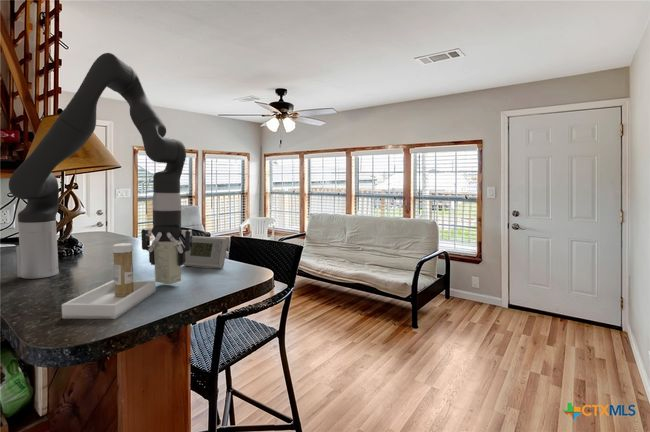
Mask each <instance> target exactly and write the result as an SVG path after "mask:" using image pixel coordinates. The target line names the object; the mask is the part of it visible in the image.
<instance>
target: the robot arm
mask: <svg viewBox="0 0 650 432" xmlns="http://www.w3.org/2000/svg"><path fill="white" fill-rule="evenodd" d="M106 88H108V89H110V90H111V91H114V92H116V93H117V94H119V95H120V96H122V97H121V98H123V99H124V100H125V102H126V103H127V104H128V106H129V115H130V116H129V117H130V119H131V121H132V122H133V125H134V126H135V127H136V129H137V131H138V133H139V134H140V136H141V139H142V143H143V147H144V152H145V155H146V156H147V157H148V159H150V160H151V161H152V162H153V163H154V162H155V163H160V164H162V163H163V164H165V168H164V169H163V170H162V171H157V172H155V173H154V174H153V176H152V177H153V178H152V183H153V185H152V186H153V187H152V189H153V191H152V192H153V194H152V195H153V196H152V229H151V228H148V227H147V228H143V229H141V232H140V233H141V249H142V250H143V251H147V252H148V263H149V264H151V265H150V266H155V263H154V249H155V247H156V245H157V243H158V242H159V241H160V242H174V246H175V247H176V248H177V250H178V251H179V253H178V265H179V266H181V267H182V266H184V265H183V264H184V263H185V253H186V251H189V250H191V249H192V236H193V229H188V230H187V229H183V228H182V206H183V205H182V198H181V177H182V174H183V170H184V166H185V163H186V158H187V150H186V147H185V145H184V143H183V141H181V140H179V139H175V138H170V137H166V134H167V128H166V125H165V123H164V122H163V120H162V119H161V118H160V116H159V114H158V113H157V112H156V110H155V108H154V107H153V105H152V104H151V102H150V100H149V98H148V96H147V94H146V91H145V90H144V87H143V85H142V83H141V81H140V78H139V75H138V73H137V72H136V70H135V69H134V67H133V66H131V65H129V64H128V63H126V62H125V61H124V60H122V59H121V58H119V57H118V56H117V55H115V54H114V53H111V52H105V53H102V54H100V55H99V56H98V57H97V58H96V59H95V60H94V62H93V63H92V64H91V66H90V68H89V70H88V71H87V73H86V75H85V76H84V79H83V80H82V82H81V84H80V86H79V88H78V89H77V91H76V92H75V93H74V95H73V97H72V98H71V99H70V101H69V102H68V104H67V105H66V106H65V108H64V109H63V110H62V112H60V114H59V115H58V117H57V118H56V120H55V121H54V122H53V123H52V125H51V126H50V128H49V129H48V131H47V133H45V135H44V136H43V138H42V139H40V140H41V141H40V142H39V143H38V144H37V146H36V147H35V149H34V150H33V151H32V152H31V153H30V154H29V156H28V157H27V158H25V160H24V161H23V162H22V163H21V164H20V165H19V166H18V167H17V168H16V169H15V170H14V172H13V173H12V174H11V176H10V177H9V181H8V189H9V192H10V193H11V195H12V196H13V197H15V198H17V199H19V200H26V201H27V202H26V205H25V207H24V208H23V209H22V210H20V211H19V212H18V214H17V224H18V225H17V227H18V228H17V229H18V242H19V245H17V246H16V248H15V250H16V267H17V277H18V278H22V279H29V280H31V279H34V280H35V279H42V278H43V279H44V278H49V277H54V276H56V275H58V274H59V273H60V272H59V270H60V269H59V255H58V236H57V235H58V232H57V231H58V230H57V214H58V211H59V206H60V205H59V201H60V200H59V198H60V197H59V195H60V194H59V193H60V189H59V182H58V179H57V177H56V175H55V174H54V173H53V171H54V170H55V169H56V167H57V166H58V165H59V164H61V163H62V162H63V161H64V160H65V161H66V160H67V159H68V158H70V157H72V155H74V154H75V153H77V152H79V150H80V149H81V148H83V147H84V145H85V144H86V143H87V142H88V140H89V139H90V137H91V136H92V135H93V134H94V131H95V129H96V126H97V106H98V102H99V99H100V98H101V96H102V94H103V93H104V91H105V90H106ZM182 235H183V238H184V240H185V241H184V242H183V241H182V238H181V236H182ZM151 236H153V237H154V239H153V241H152V242H151ZM177 240H178V241H180V242H177Z"/></svg>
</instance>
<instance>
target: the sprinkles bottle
mask: <svg viewBox="0 0 650 432" xmlns="http://www.w3.org/2000/svg"><path fill="white" fill-rule="evenodd" d="M133 251H134V245H133V243H128V242H127V243H126V242H125V243H122V242H121V243H116V244H113V245H112V253H113V277H114V278H113V280H114V283H115V296H117V297H126V296H128V295H129V294H131V293H133V292H134V288H133V281H134V266H133V265H134V264H133V262H134V261H133Z"/></svg>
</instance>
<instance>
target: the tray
mask: <svg viewBox="0 0 650 432" xmlns="http://www.w3.org/2000/svg"><path fill="white" fill-rule="evenodd" d="M133 288H134V292H133V293H131V294H129V295H128V296H126V297H117V296H115V283H114V279H112V280H110V281H108V282H106V283H104V284H102V285H100V286H98V287H95V288H93V289H92V290H89V291H87V292H85V293H83V294H81V295H79V296H77V297H75V298H73V299H70V300H69V301H66V302H64V303H62V304H61V315H62V316H61V318H62V319H79V320H81V319H84V320H85V319H88V320H89V319H92V320H93V319H95V320H96V319H97V320H98V319H99V320H100V319H101V320H104V319H105V320H116V319H118V318H119V317H121V316H122V315H124V314H125V313H126V312H128V311H129V310H131V309H132V308H133V307H136V306H137V305H139V304H140V303H141V302H143V301H144V300H146V299H147V298H149V297H150V296H152V295H153V294H155V293H156V290H157V289H156V282H155V280H133Z"/></svg>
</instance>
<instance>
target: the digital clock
mask: <svg viewBox="0 0 650 432" xmlns="http://www.w3.org/2000/svg"><path fill="white" fill-rule="evenodd" d="M228 243H229V242H228V238H227V237H226V238H225V237H218V236H205V235H204V236H202V235H201V236H200V235H198V236H197V235H192V249H191V250H189V251H186V253H185V263H184V264H183V265H182V266H185V267H191V268H202V269H212V270H213V269H220V270H221V269H223V268H224V266H225V260H226V254H227V250H228V249H227V248H228Z"/></svg>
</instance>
